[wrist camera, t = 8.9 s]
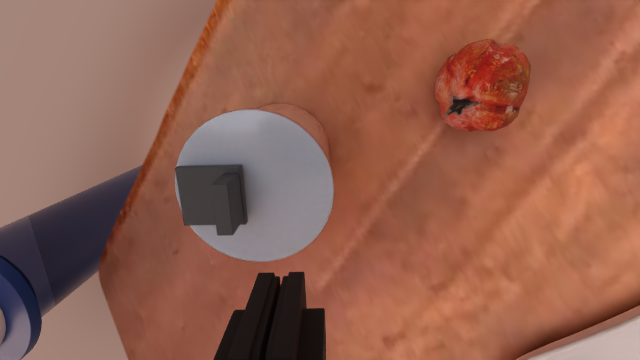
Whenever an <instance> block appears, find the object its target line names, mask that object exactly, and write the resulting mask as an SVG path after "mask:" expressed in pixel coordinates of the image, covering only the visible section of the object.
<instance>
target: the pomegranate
mask: <svg viewBox="0 0 640 360" xmlns="http://www.w3.org/2000/svg"><path fill="white" fill-rule="evenodd" d="M529 78H530V63H529V61H528V59H527V57H526V56H525V54H524V53H523V52H522V51H520V50H519V48H518V47H516V46H514V45H509V44H505V43H504V44H502V43H501V44H500V43H496V42H495V41H494V40H492V39H489V40H487V39H486V40H482V41H478V42H473V43H471V44H468V45H467V46H465V47H464V48H463V49H461V50H460V51H459V52H458V53H457V54H455V55H452V56H451V57H449V58H448V59H447V61H446V62H445V64H444V65H443V67H442V69H441V70H440V72H439V74H438V76H437V79H436V82H435V98H436V100H438V101H439V103H440V105H441V116H442V119H443V120H444V121H445V122H446V123H447V124H449V125H450V126H452V127H453V128H456V129H459V130H463V131H467V132H469V131H474V130H487V131H493V130H497V129H500V128H502V127H505V126H507V125H509V124H510V123H511V122H512V121H513V120H514V119H515V118H516V117H517V116H518V113H519V109H520V106H521V104H522V102H523V100H524V98H525V96H526V93H527V90H528V85H529Z"/></svg>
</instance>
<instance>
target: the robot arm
mask: <svg viewBox="0 0 640 360" xmlns="http://www.w3.org/2000/svg"><path fill="white" fill-rule="evenodd" d="M5 331H6V324H5V318H4V315H3V311H2V309H1V308H0V344H1V343H2V341H3V339H4V337H5ZM214 360H326V332H325V310H324V308H313V309H306V292H305V276H304V272H289V275H288V276H284V277H283V280H282V284H280V277H279V276H275V274H274V273H259V274H258V276H257V279H256V281H255V284H254V287H253V290H252V292H251V295H250V298H249V300H248V303H247V306H246V309H245V310H235V311H234V312H233V314H232V316H231V319H230V321H229V324H228V326H227V328H226V331H225V333H224V336H223V338H222V341H221V343H220V345H219V348H218V350H217V353H216V355H215V357H214Z"/></svg>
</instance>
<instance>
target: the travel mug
mask: <svg viewBox="0 0 640 360" xmlns="http://www.w3.org/2000/svg"><path fill="white" fill-rule="evenodd" d="M236 164H241V165H242V168H243V178H244V187H245V197H246V206H247V216H248V222H247V224H246V225H240V226H239V227H238V229H237V230H236V232H235V233H234V235H228V236H218V235H217V230H216V225H190V226H191V228H192V229H193V230H194V231H195V232H196V234H197V235H198V236H199V237H200V238H201V239H203V240H204V241H205V242H206V243H207V244H209V245H210V246H211V247H213V248H214V249H216V250H218V251H220V252H222V253H224V254H226V255H229V256H231V257H234V258H237V259H241V260H247V261H257V262H263V261H273V260H278V259H282V258H285V257H288V256H291V255H293V254H295V253H297V252H299V251H300V250H302V249H303V248H305V247H306V246H308V245H309V244H310V243H311V242H312V241H313V240H314V239H315V238H316V237H317V236H318V235H319V234H320V232H321V231H322V229H323V228H324V226H325V224H326V222H327V220H328V218H329V216H330V213H331V210H332V205H333V200H334V179H333V173H332V168H331V165H330V147H329V142H328V138H327V136H326V133H325V131H324V129H323V128H322V126H321V125H320V123H319V122H318V121H317V120H316V119H315V118H314V117H313V116H312V115H311V114H310V113H308V112H307V111H305V110H303V109H301V108H299V107H297V106H294V105H291V104H285V103H274V104H268V105H264V106H261V107H259V108H247V109H238V110H234V111H230V112H226V113H223V114H221V115H218V116H216V117H214V118H212V119H210V120H209V121H207V122H205V123H204V124H203V125H201V126H200V127H199V128H198V129H197V130H196V131H195V132H194V133H193V134H192V135H191V136H190V137H189V139H188V140H187V142H186V143H185V145H184V147H183V149H182V151H181V153H180V155H179V158H178V161H177V166H176V167H178V166H192V165H236ZM175 189H176V195H177V199H178V203H179V206H180V208H181V202H180V196H179V190H178V184H177V178H176V172H175ZM181 211H182V208H181Z"/></svg>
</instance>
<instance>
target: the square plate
mask: <svg viewBox="0 0 640 360" xmlns="http://www.w3.org/2000/svg"><path fill="white" fill-rule="evenodd" d="M516 360H640V305H639V306H637V307H635V308H633V309H631V310H628V311H626V312H624V313H622V314H620V315H618V316H615V317H613V318H611V319H608V320H606V321H604V322H601V323H599V324H597V325H594V326H592V327H590V328H587V329H585V330H582V331H580V332H578V333H575V334H573V335H570V336H568V337H565V338H562V339H560V340H557V341H555V342H552V343H550V344H548V345H545V346H543V347H541V348H538V349H536V350H534V351H532V352H529V353H527V354H525V355H523V356H521V357H519V358H517V359H516Z"/></svg>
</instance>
